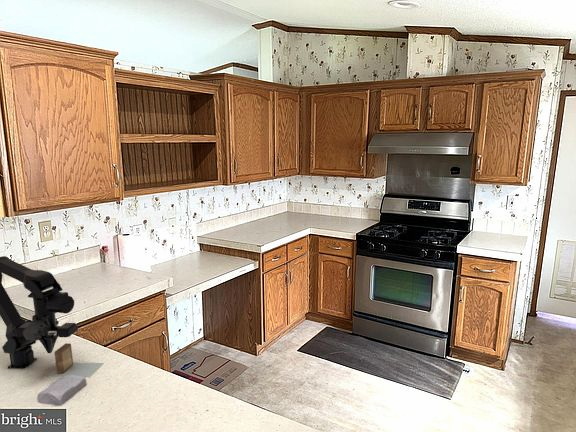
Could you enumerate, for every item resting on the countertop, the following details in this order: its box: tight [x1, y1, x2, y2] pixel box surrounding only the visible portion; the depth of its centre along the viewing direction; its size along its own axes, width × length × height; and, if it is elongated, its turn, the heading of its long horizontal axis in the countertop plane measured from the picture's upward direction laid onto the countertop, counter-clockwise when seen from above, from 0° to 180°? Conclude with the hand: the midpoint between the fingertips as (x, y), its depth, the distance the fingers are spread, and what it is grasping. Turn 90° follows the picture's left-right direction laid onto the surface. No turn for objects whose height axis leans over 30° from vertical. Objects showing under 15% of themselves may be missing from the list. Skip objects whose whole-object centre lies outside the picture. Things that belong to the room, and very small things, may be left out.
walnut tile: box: [53, 343, 74, 374], centre depth 139 cm, size 2×6×8 cm, turn 176°
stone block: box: [37, 375, 87, 406], centre depth 126 cm, size 12×5×10 cm
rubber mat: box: [47, 361, 105, 378], centre depth 139 cm, size 15×9×1 cm, turn 86°
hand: (50, 352), depth 139 cm, fingers closed
